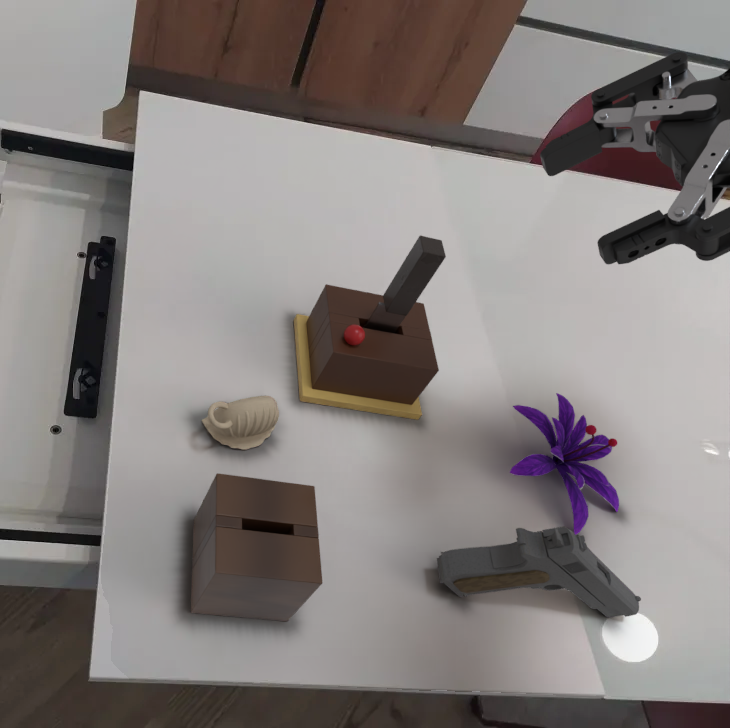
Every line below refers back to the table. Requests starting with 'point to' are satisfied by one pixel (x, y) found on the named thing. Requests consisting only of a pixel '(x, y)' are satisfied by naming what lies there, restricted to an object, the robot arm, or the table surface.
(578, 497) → the decorative flower
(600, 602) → the handgun
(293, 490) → the knife block
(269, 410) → the decorative ornament
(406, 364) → the cake
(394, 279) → the knife
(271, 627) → the table surface
